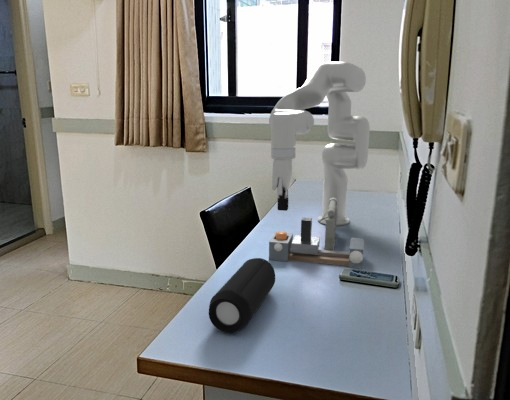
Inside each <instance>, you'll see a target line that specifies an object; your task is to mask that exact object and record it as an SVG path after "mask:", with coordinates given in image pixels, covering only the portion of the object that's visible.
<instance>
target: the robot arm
mask: <svg viewBox="0 0 510 400" xmlns="http://www.w3.org/2000/svg"><path fill="white" fill-rule="evenodd" d="M366 82H367V77H366V73H365V71H364V69H363V68H362V67H359V66H357V65H356V64H354V63H351V62H348V61H326V62H325V61H323V62H318V63H317V64H316V65H315V66H314V67H313V69H312V70H311V72H310V74H309V75H308V77H307V78H306V80H305V81H304V83H303V84H302V86H301V87H298V88H295V90H293V91H291V92H289V93H287V94H286V95H284V96H282V98H280V99H279V100H278V101H277V103H276V104H275V106H274V107H273V109H272V110H271V112H270V114H269V118H268V124H269V128H270V158H271V159H273V162H272V172H271V173H272V174H271V175H272V176H271V189H272V191H275V190H277V211H283V212H284V211H285V212H286V211H288V210H289V189H290V187H291V185H292V180H293V160H294V159H296V144H297V143H296V142H297V141H296V139H297V138H296V135H306V134H308V133H309V132H311V130H313V127H314V125H315V120H314V119H315V118H314V116H313V114H312V113H311V112H310V111H307V110H306V109H311V108H314V107H317V106H319V105H320V104H322V102H323V101H324V100H325V98H327V103H328V113H327V114H328V115H327V135H328V137H329V138H330V139H333V140H337V141H349V142H353V143H354V144H350V143H349V144H348V143H339V142H333V143H331V142H330V143H328V144H326V145H325V146H324V147H323V149H322V152H321V160H322V166H323V180H322V181H323V184H322V203H321V204H322V205H321V206H322V207H321V212H322V213H321V215H319V216H318V217H317V221H318V222H319V221H320V220H321V218H322V217H323V216H324V214H325V213H326V212H327V211H328V206H329V200H330V198H333V197H334V198H336V199H337V217H336V226H345V225H348V224H350V218H349V217H348V216H347V202H348V201H347V200H348V197H347V196H348V185H349V183H348V181H349V179H348V175H347V174H346V172H345V170H352V171H361V170H363V169H365V167H366V166H367V163H368V156H369V155H368V154H369V145H370V144H369V143H370V129H371V128H370V122H369V119H368V118H367V117H365V116H361V115H352V100H351V98H350V96H349V94H348V93H358V92H361V91H362V90H363V89H364V87H365V86H366ZM327 213H328V212H327ZM338 216H339V217H338ZM325 217H327V214H326V215H325V216H324V218H325ZM319 223H320V224H323V225H326V219H324V220H322V221H321V222H319Z"/></svg>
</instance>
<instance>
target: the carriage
mask: <svg viewBox="0 0 510 400" xmlns="http://www.w3.org/2000/svg"><path fill="white" fill-rule="evenodd" d="M312 223H313V218H312V217H302V218H301V222H300V235H298V234H296V235H294V236H293V241H292V247H291V252H295V253H307V254H317V252H318V249H319V250H320V242H321V241H320V240H321V239H320V238H321V237H320V236H312V225H313V224H312Z"/></svg>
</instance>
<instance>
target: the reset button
mask: <svg viewBox="0 0 510 400" xmlns="http://www.w3.org/2000/svg"><path fill="white" fill-rule="evenodd" d="M275 232H276V239H278V240H287V233H288V232H286V231H283V230H281V231H280V230H279V231H275Z"/></svg>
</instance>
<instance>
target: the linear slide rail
mask: <svg viewBox="0 0 510 400" xmlns="http://www.w3.org/2000/svg"><path fill="white" fill-rule="evenodd" d="M276 232H277V231H274V233H273V235H272V236H271V238H270V240H269V241H268V261H269V260H270V261H280V262H288V261H289V260H288V255H289V253H290V248H291V247H292V241H293V239H294V233H293V232H291V233H290V232H287V240H278V239H276ZM364 242H365V239H364V238H357V237H356V238H355V237H351V238H350V243H349V244H350V245H349V252H350V255H349V266H348V267H349V268H356V269H363V262H364V248H365V247H364Z"/></svg>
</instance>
